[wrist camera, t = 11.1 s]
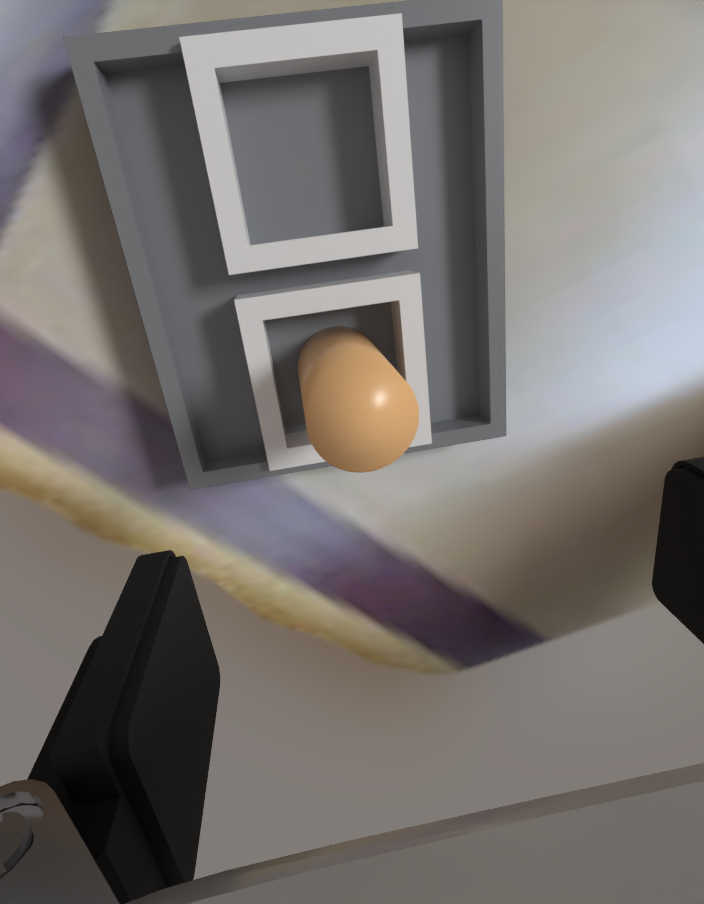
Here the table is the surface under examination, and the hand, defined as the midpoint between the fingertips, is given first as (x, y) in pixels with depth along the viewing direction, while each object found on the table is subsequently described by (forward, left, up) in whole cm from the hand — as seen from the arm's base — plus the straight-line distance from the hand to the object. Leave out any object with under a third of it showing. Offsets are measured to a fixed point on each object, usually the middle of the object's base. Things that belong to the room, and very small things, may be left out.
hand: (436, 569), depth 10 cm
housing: (0, -5, -18) cm, 18 cm away
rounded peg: (0, 0, -17) cm, 17 cm away
